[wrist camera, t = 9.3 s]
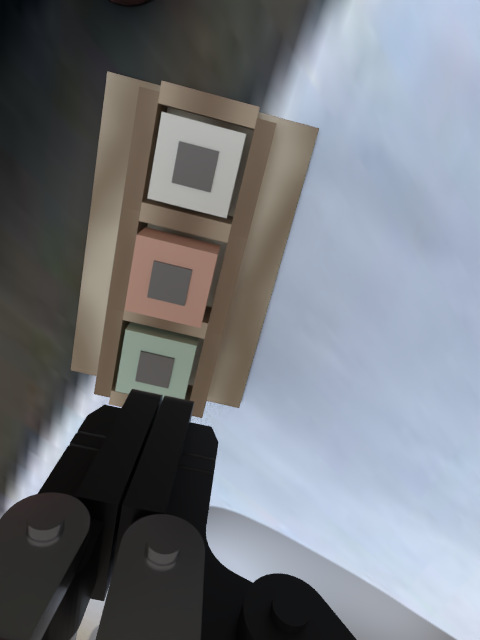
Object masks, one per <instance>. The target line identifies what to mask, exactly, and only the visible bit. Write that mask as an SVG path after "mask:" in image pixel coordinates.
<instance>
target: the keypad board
mask: <svg viewBox="0 0 480 640" xmlns="http://www.w3.org/2000/svg"><path fill="white" fill-rule="evenodd" d="M259 108H260V107H257V106H254V105H250V104H246V103H243V102H239V101H235V100H232V99H228V98H224V97H221V96H217V95H213V94H209V93H206V92H202V91H198V90H195V89H191V88H187V87H184V86H180V85H176V84H172V83H169V82H165V81H161V86H160V85H156V84H152V83H149V82H145V81H141V80H138V79H134V78H130V77H126V76H123V75H119V74H115V73H112V72H108V71H107V79H106V88H105V96H104V104H103V112H102V120H101V128H100V137H99V145H98V153H97V161H96V169H95V177H94V185H93V194H92V202H91V210H90V218H89V226H88V234H87V243H86V251H85V259H84V267H83V275H82V283H81V291H80V300H79V308H78V316H77V324H76V332H75V340H74V348H73V357H72V365H71V370H73V371H77V372H81V373H86V374H90V375H95V376H97V377H96V384H95V391H94V394H97V395H101V396H106V397H110V401H109V404H110V405H115V406H119V407H122V406H123V404H124V402H125V401H126V399H127V397H128V395H129V394H126V393H121V392H117V391H115V389H116V383H117V377H118V371H119V365H120V359H121V353H122V347H123V341H124V335H125V329H126V328H127V326H128V325H129V323H130V322H134V323H138V324H143V325H147V326H151V327H155V328H160V329H164V330H168V331H172V332H177V333H181V334H185V335H189V336H194V337H198V338H199V341H198V345H197V349H196V354H195V358H194V362H193V367H192V371H191V375H190V379H189V384H188V388H187V392H186V396H185V400H190V401H194V407H193V412H192V416H195V417H200V418H202V416H203V412H204V408H205V404H206V401H210V402H214V403H219V404H223V405H228V406H232V407H237V408H239V406H240V403H241V399H242V396H243V392H244V389H245V385H246V382H247V378H248V375H249V371H250V368H251V364H252V361H253V357H254V354H255V350H256V347H257V343H258V340H259V336H260V333H261V329H262V326H263V323H264V319H265V316H266V312H267V309H268V305H269V302H270V298H271V295H272V291H273V288H274V284H275V281H276V277H277V274H278V270H279V267H280V263H281V260H282V256H283V253H284V249H285V246H286V242H287V239H288V235H289V232H290V228H291V225H292V221H293V218H294V214H295V211H296V207H297V204H298V200H299V197H300V193H301V190H302V186H303V183H304V179H305V176H306V172H307V169H308V166H309V162H310V159H311V155H312V152H313V148H314V145H315V141H316V138H317V134H318V131H319V128H315V127H312V126H308V125H304V124H301V123H297V122H293V121H289V120H286V119H282V118H278V117H275V116H271V115H267V114H264V113H260V112H259ZM162 112H165V113H169V114H173V115H176V116H180V117H184V118H188V119H191V120H195V121H199V122H203V123H206V124H210V125H214V126H218V127H221V128H225V129H229V130H233V131H237V132H240V133H244V134H247V135H246V139H245V144H244V148H243V152H242V157H241V161H240V165H239V169H238V174H237V178H236V182H235V187H234V191H233V195H232V199H231V204H230V208H229V212H228V215H227V218H223V217H219V216H215V215H211V214H207V213H203V212H199V211H195V210H191V209H187V208H183V207H179V206H175V205H171V204H168V203H164V202H160V201H156V200H152V199H148V198H147V197H148V191H149V185H150V179H151V173H152V167H153V161H154V155H155V149H156V143H157V137H158V131H159V125H160V119H161V113H162ZM145 227H147V228H151V229H155V230H159V231H163V232H167V233H171V234H175V235H179V236H183V237H187V238H191V239H196V240H200V241H204V242H208V243H212V244H216V245H220V250H219V254H218V258H217V262H216V267H215V271H214V275H213V280H212V284H211V288H210V292H209V297H208V301H207V305H206V310H205V314H204V318H203V321H202V325H201V328H198V327H193V326H189V325H185V324H181V323H177V322H172V321H168V320H164V319H160V318H155V317H151V316H147V315H143V314H138V313H134V312H130V311H126V310H124V309H125V303H126V297H127V291H128V285H129V278H130V272H131V266H132V260H133V254H134V248H135V241H136V235H137V234H138V233H139V232H140V231H142V230H143V229H144V228H145Z"/></svg>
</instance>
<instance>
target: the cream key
mask: <svg viewBox="0 0 480 640" xmlns="http://www.w3.org/2000/svg"><path fill="white" fill-rule="evenodd" d="M246 135H247V134H244V133H240V132H237V131H233V130H229V129H225V128H221V127H218V126H214V125H210V124H206V123H203V122H199V121H195V120H191V119H188V118H184V117H180V116H176V115H173V114H169V113H165V112H162V113H161V119H160V125H159V131H158V137H157V143H156V149H155V155H154V161H153V167H152V173H151V179H150V185H149V191H148V197H147V198H148V199H152V200H156V201H160V202H164V203H168V204H171V205H175V206H179V207H183V208H187V209H191V210H195V211H199V212H203V213H207V214H211V215H215V216H219V217H223V218H227V215H228V212H229V208H230V204H231V199H232V195H233V191H234V187H235V182H236V178H237V174H238V169H239V165H240V161H241V157H242V152H243V148H244V144H245V139H246Z"/></svg>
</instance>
